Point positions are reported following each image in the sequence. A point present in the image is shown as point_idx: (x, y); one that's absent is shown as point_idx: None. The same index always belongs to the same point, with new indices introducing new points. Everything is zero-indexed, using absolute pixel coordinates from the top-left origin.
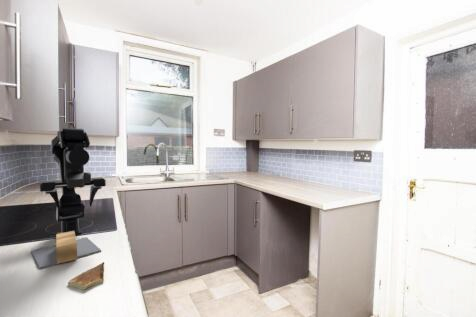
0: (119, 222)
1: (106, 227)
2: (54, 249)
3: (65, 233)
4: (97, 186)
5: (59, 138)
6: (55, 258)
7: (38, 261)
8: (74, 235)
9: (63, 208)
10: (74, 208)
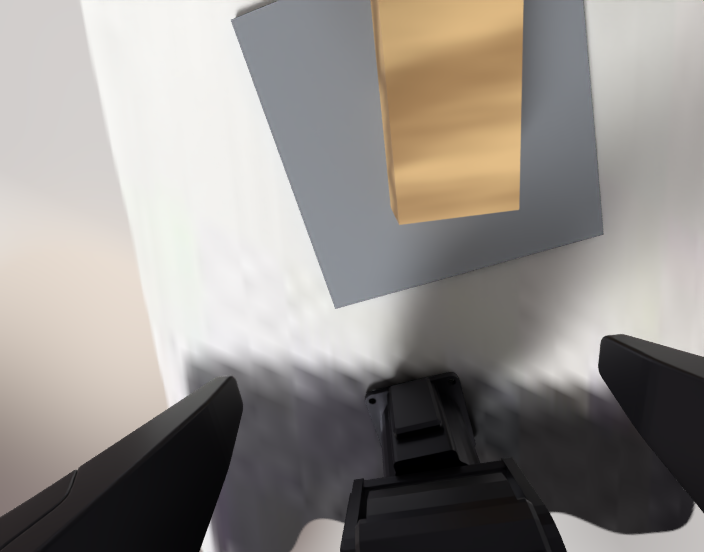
0: None
1: (247, 431)
2: None
3: (458, 185)
4: None
5: None
6: None
7: (575, 9)
8: (392, 89)
9: (517, 533)
10: (419, 527)
